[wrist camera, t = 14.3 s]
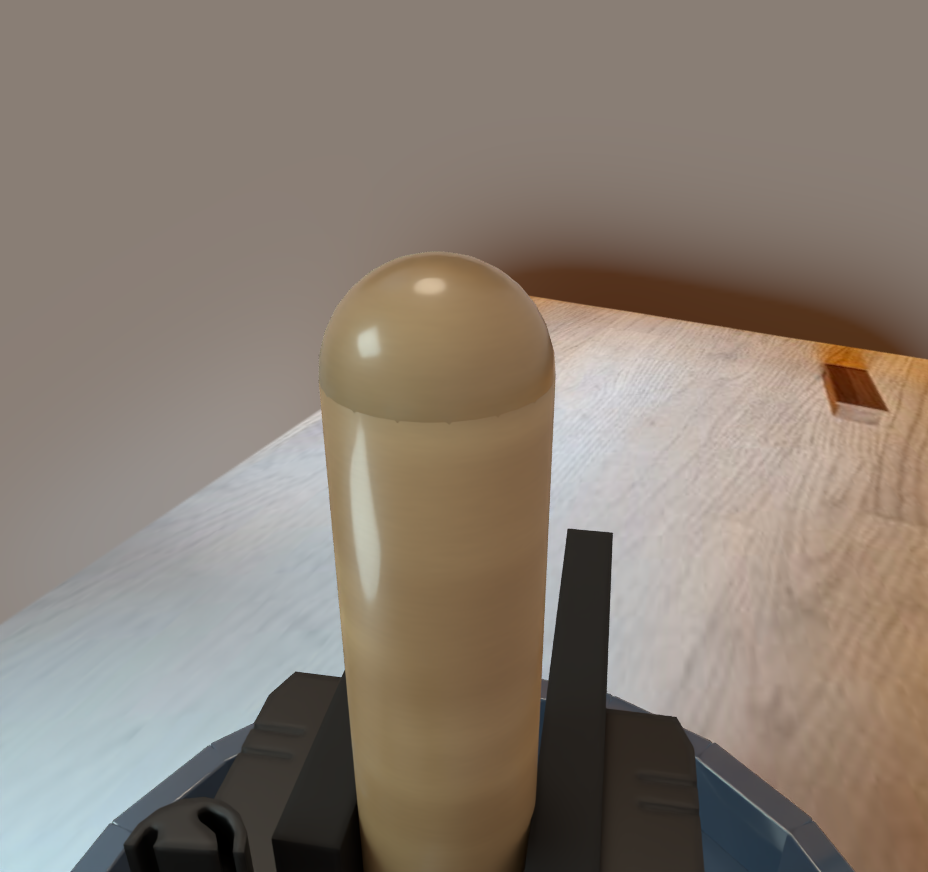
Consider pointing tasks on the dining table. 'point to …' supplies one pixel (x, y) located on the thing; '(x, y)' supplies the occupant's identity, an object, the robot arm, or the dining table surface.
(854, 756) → the dining table surface
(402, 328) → the beech masher
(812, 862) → the dark grey round dish
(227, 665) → the dining table surface
